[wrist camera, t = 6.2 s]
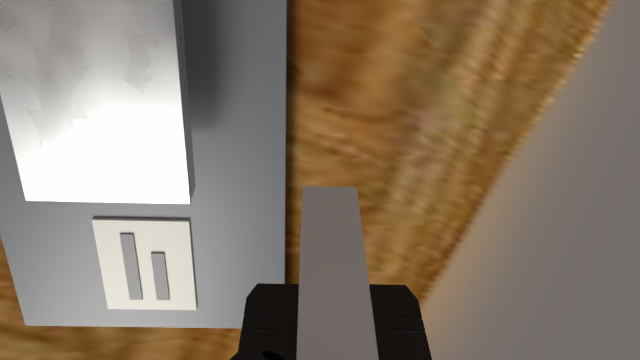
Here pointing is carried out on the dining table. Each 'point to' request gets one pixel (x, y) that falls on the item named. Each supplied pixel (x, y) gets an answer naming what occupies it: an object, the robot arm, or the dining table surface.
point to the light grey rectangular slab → (98, 99)
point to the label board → (166, 218)
